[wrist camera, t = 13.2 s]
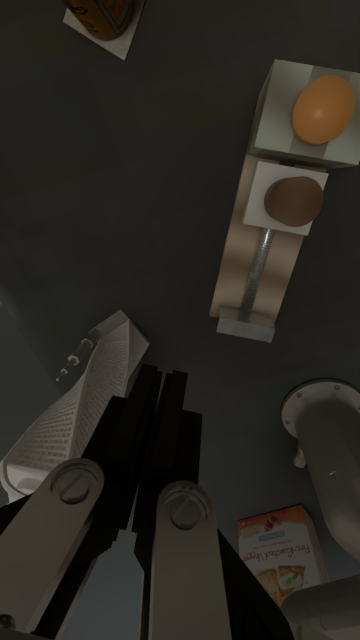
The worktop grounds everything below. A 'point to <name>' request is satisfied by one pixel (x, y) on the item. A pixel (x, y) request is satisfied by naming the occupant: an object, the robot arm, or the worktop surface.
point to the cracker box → (282, 551)
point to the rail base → (246, 254)
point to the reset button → (323, 110)
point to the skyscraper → (75, 406)
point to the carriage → (284, 198)
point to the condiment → (105, 22)
